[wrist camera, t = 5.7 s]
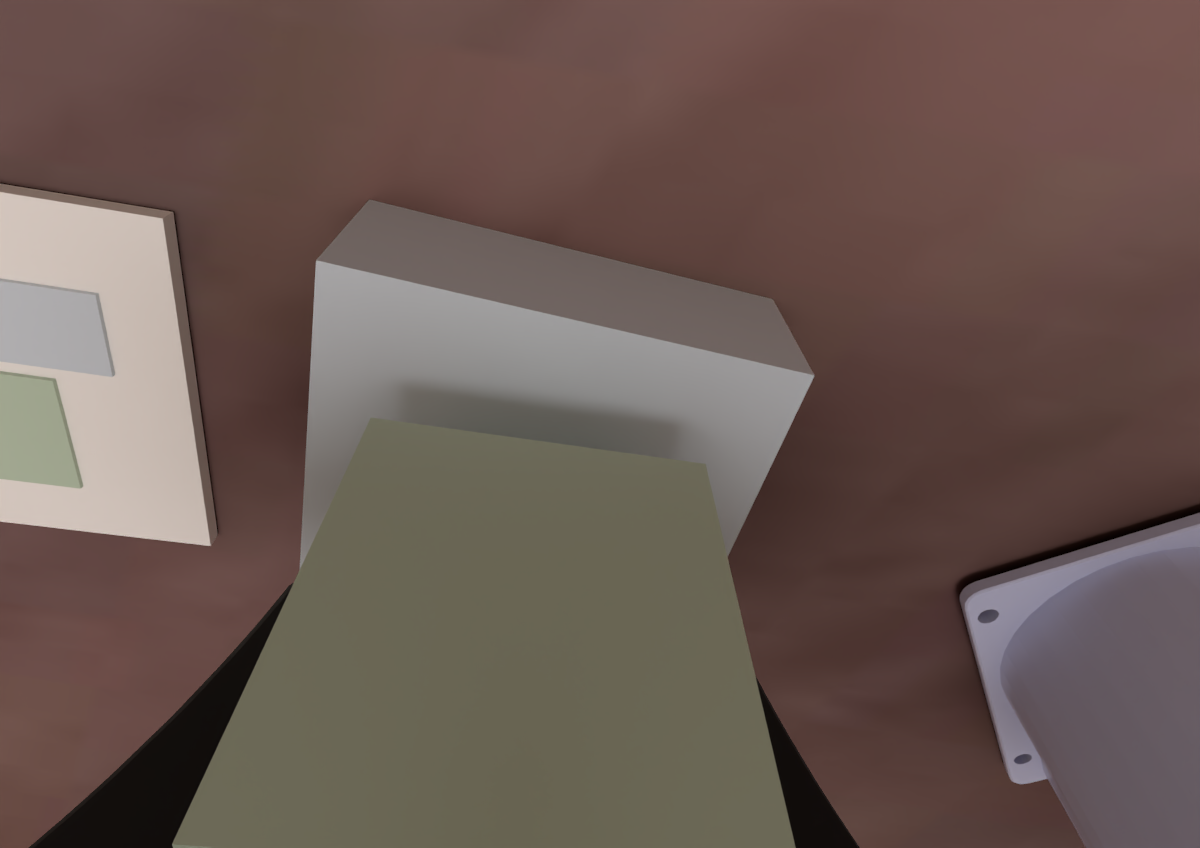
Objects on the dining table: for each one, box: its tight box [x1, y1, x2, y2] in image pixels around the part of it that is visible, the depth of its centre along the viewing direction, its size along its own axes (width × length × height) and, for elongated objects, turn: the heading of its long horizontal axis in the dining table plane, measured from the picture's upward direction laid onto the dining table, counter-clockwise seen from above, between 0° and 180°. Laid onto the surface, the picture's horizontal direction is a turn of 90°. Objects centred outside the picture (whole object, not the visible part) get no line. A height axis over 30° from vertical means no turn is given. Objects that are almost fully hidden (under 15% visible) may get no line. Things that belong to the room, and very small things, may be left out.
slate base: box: [300, 199, 815, 568], centre depth 15 cm, size 8×8×4 cm
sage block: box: [172, 418, 796, 848], centre depth 10 cm, size 5×5×6 cm
